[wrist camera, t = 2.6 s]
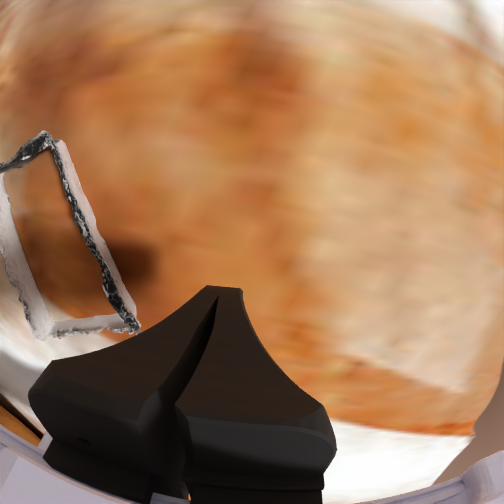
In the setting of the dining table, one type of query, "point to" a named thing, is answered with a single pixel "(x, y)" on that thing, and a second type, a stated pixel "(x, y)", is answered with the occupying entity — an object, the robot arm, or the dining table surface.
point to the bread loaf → (17, 427)
